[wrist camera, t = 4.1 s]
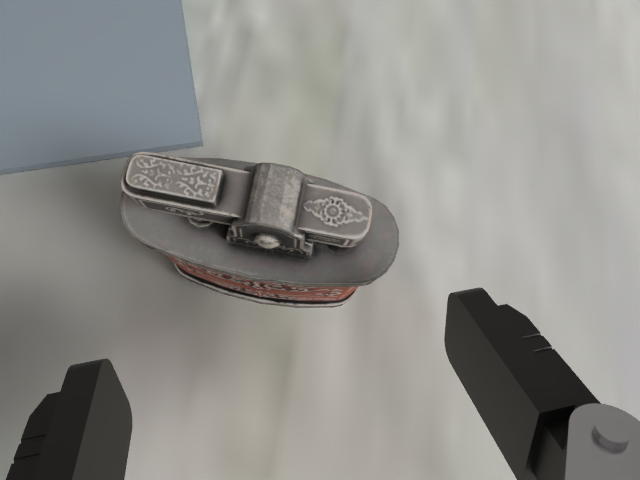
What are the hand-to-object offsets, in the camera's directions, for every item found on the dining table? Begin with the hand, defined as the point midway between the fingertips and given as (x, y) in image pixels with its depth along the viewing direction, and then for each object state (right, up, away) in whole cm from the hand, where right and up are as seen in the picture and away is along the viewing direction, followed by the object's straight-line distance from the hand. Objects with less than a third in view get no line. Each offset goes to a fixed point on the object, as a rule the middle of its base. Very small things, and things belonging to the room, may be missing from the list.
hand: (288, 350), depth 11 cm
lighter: (-2, +1, +10) cm, 10 cm away
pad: (-12, +12, +11) cm, 20 cm away
